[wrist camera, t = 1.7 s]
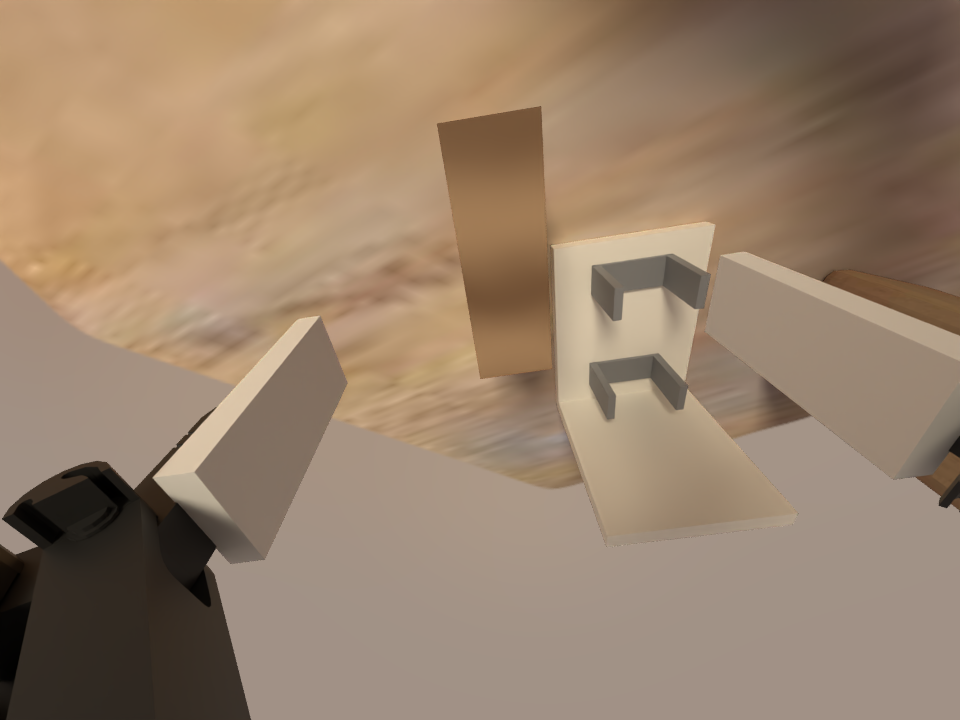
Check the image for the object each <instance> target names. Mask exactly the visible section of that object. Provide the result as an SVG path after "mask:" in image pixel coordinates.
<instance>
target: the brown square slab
mask: <svg viewBox="0 0 960 720" xmlns="http://www.w3.org/2000/svg"><path fill="white" fill-rule="evenodd" d="M437 127H438V133H439V138H440V144H441V150H442V156H443V162H444V168H445V174H446V180H447V185H448V191H449V197H450V203H451V209H452V215H453V221H454V227H455V232H456V238H457V244H458V250H459V256H460V262H461V268H462V273H463V279H464V285H465V291H466V297H467V303H468V309H469V315H470V320H471V326H472V332H473V338H474V344H475V350H476V356H477V361H478V367H479V373H480V379H483V378H491V377H498V376H505V375H512V374H519V373H526V372H534V371H541V370H548V369H552V353H551V329H550V305H549V281H548V257H547V233H546V210H545V186H544V162H543V138H542V114H541V106H540V107H534V108H528V109H522V110H516V111H510V112H504V113H498V114H492V115H486V116H480V117H474V118H468V119H462V120H456V121H450V122H444V123H438V124H437Z"/></svg>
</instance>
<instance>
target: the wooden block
mask: <svg viewBox="0 0 960 720" xmlns="http://www.w3.org/2000/svg"><path fill="white" fill-rule="evenodd" d="M823 282H824V283H826V284H829V285H831V286H834V287H837V288H839V289H842V290H844V291H847V292H849V293H852V294H854V295H857V296H860V297H862V298H865V299H867V300H870V301H872V302H875V303H877V304H880V305H883V306H885V307H888V308H890V309H893V310H895V311H898V312H900V313H903V314H906V315H908V316H911V317H913V318H916V319H918V320H921V321H923V322H926V323H929V324H931V325H934V326H936V327H939V328H941V329H944V330H946V331H949V332H951V333H954V334H957V335H959V336H960V297H957V296H954V295H951V294H948V293H945V292H942V291H938V290H935V289H932V288H929V287H925V286H920V285H916V284H911V283H907V282H902V281H898V280H893V279H889V278H885V277H880V276H876V275H871V274H867V273H862V272H858V271H853V270H839V271H833V272H832V273H831V274H830V275H828V276H827V277H826V278H825V280H824V281H823ZM959 474H960V458H959V457H957V456H956V455H954V454H953V453H951V452H949V453H948V455H947V456H946V457H945V459H944V460H943V461H942V463H941V464H940V465H939V467H938V468H937V469H936V471H935V472H934V473H933V475H926V476H918V477H916V478H917V479H918V480H920V481H921V482H922V483H924V484H925V485H927V486H928V487H929V488H930V489H932V490H933V491H935V492H936V493H937V494H939V495H940V496H942V495H943V494H944V492H945V491H946V490H947V489H948V487H949V486H950V485H951V484H952V482H953V481H954V480H955V479H956V477H957V476H958V475H959ZM951 504H952V505H953V506H955V507H956V508H957V509H959V510H960V498H957V499H954V500H953V502H952V503H951Z"/></svg>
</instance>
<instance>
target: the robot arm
mask: <svg viewBox="0 0 960 720" xmlns="http://www.w3.org/2000/svg"><path fill="white" fill-rule="evenodd" d="M705 332H706V333H707V334H708V335H710V336H711V337H712V338H714V339H715V340H716V341H717V342H719V343H720V344H721V345H722V346H724V347H725V348H726V349H728V350H729V351H730V352H731V353H733V354H734V355H735V356H736V357H738V358H739V359H740V360H742V361H743V362H744V363H745V364H747V365H748V366H749V367H750V368H752V369H753V370H754V371H756V372H757V373H758V374H759V375H761V376H762V377H763V378H764V379H766V380H767V381H768V382H770V383H771V384H772V385H773V386H775V387H776V388H777V389H778V390H780V391H781V392H782V393H784V394H785V395H786V396H787V397H789V398H790V399H791V400H792V401H794V402H795V403H796V404H798V405H799V406H800V407H801V408H803V409H804V410H805V411H807V412H808V413H809V414H810V415H812V416H813V417H814V418H816V419H817V420H818V421H819V422H821V423H822V424H823V425H824V426H826V427H827V428H828V429H830V430H831V431H832V432H833V433H835V434H836V435H837V436H838V437H840V438H841V439H842V440H844V441H845V442H846V443H847V444H849V445H850V446H851V447H852V448H854V449H855V450H856V451H857V452H859V453H860V454H861V455H863V456H864V457H865V458H867V459H868V460H869V461H870V462H871V463H873V464H874V465H875V466H877V467H878V468H879V469H880V470H882V471H883V472H884V473H885V474H887V475H888V476H889V477H891V478H892V479H893V480H894V479H903V478H910V477H918V476H926V475H933V473H934V472H935V471H936V469H937V468H938V467H939V465H940V464H941V463H942V461H943V460H944V459H945V457H946V456H947V455H948V453H949V452H951V453H953V454H954V455H956V456H957V457H959V458H960V336H959V335H957V334H954V333H951V332H949V331H946V330H944V329H941V328H939V327H936V326H934V325H931V324H929V323H926V322H923V321H921V320H918V319H916V318H913V317H911V316H908V315H906V314H903V313H900V312H898V311H895V310H893V309H890V308H888V307H885V306H883V305H880V304H877V303H875V302H872V301H870V300H867V299H865V298H862V297H860V296H857V295H854V294H852V293H849V292H847V291H844V290H842V289H839V288H837V287H834V286H831V285H829V284H826V283H824V282H821V281H819V280H816V279H814V278H811V277H808V276H806V275H803V274H801V273H798V272H796V271H793V270H791V269H788V268H786V267H783V266H780V265H778V264H775V263H773V262H770V261H768V260H765V259H763V258H760V257H757V256H755V255H752V254H750V253H747V252H738V253H732V254H725V255H720V259H719V264H718V269H717V274H716V279H715V284H714V289H713V293H712V298H711V303H710V308H709V313H708V318H707V323H706V327H705ZM346 385H347V380H346V378H345V375H344V373H343V370H342V368H341V365H340V363H339V360H338V358H337V356H336V353H335V351H334V348H333V346H332V343H331V341H330V338H329V336H328V333H327V331H326V329H325V326H324V324H323V321H322V319H321V316H315V317H308V318H302V319H297V321H296V322H295V323H294V324H293V325H292V326H291V327H290V328H289V329H288V330H287V331H286V333H285V334H284V335H283V336H282V337H281V338H280V339H279V340H278V341H277V342H276V344H275V345H274V346H273V347H272V348H271V349H270V350H269V351H268V352H267V353H266V354H265V356H264V357H263V358H262V359H261V360H260V361H259V362H258V363H257V364H256V365H255V366H254V368H253V369H252V370H251V371H250V372H249V373H248V374H247V375H246V376H245V377H244V378H243V380H242V381H241V382H240V383H239V384H238V385H237V386H236V387H235V388H234V389H233V390H232V392H231V393H230V394H229V395H228V396H227V397H226V398H225V399H224V400H223V401H222V402H221V404H220V405H219V406H217V407H216V408H214V409H213V410H212V411H210V412H209V413H207V414H206V415H205V416H203V417H202V418H201V419H200V420H199V421H198V422H197V423H196V424H195V425H194V427H192V428H191V430H190V431H189V432H188V435H185V436H184V437H183V438H182V439H181V440H180V441H179V442H178V443H177V447H176V448H173V449H172V450H171V451H170V452H169V453H168V454H167V455H166V456H165V457H164V458H163V459H162V461H161V462H160V463H159V464H158V465H157V466H156V467H155V468H154V469H153V470H152V471H151V472H150V474H148V475H147V476H146V478H145V479H144V480H143V481H142V482H141V483H140V484H139V485H138V486H137V487H136V488H135V489H134V490H133V489H132V488H131V487H130V486H129V485H128V484H127V483H126V482H125V481H124V479H122V478H121V476H120V475H119V474H118V473H117V472H116V471H115V470H114V469H113V468H112V467H111V466H110V465H109V464H108V463H107V462H101V461H95V462H90V463H85V464H81V465H78V466H76V467H73V468H71V469H68V470H66V471H63V472H61V473H59V474H57V475H55V476H53V477H51V478H50V479H48V480H46V481H44V482H42V483H41V484H39V485H38V486H36V487H35V488H33V489H32V490H30V491H29V492H27V493H26V494H25V495H23V496H22V497H21V498H20V499H19V500H18V501H17V502H15V503H14V504H13V505H12V506H11V507H10V508H9V509H8V511H7V512H6V514H5V515H4V517H3V518H2V520H4V521H5V522H7V523H8V524H9V525H10V526H12V527H13V528H15V529H16V530H17V531H18V532H20V533H21V534H23V535H24V536H25V537H27V538H28V539H29V540H31V541H32V542H33V543H35V544H36V545H37V546H38V547H36V548H33V549H30V550H28V551H25V552H22V553H19V554H16V555H15V554H13V553H12V552H10V551H9V550H8V549H6V548H5V547H3V546H2V545H0V720H251V718H250V715H249V710H248V706H247V702H246V698H245V694H244V690H243V686H242V682H241V679H240V674H239V670H238V666H237V662H236V659H235V654H234V650H233V647H232V643H231V639H230V635H229V631H228V627H227V623H226V619H225V615H224V611H223V607H222V603H221V599H220V595H219V591H218V587H217V583H216V579H215V575H214V573H213V572H212V571H211V569H210V568H209V567H208V566H207V565H206V564H207V562H208V561H209V559H210V557H211V556H212V554H213V552H214V550H215V549H217V550H218V551H219V552H220V553H221V554H222V555H223V556H224V557H225V559H226V560H227V561H228V562H229V563H230V564H234V563H242V562H249V561H258V560H265V558H266V556H267V554H268V551H269V549H270V547H271V545H272V543H273V541H274V539H275V537H276V534H277V532H278V530H279V528H280V526H281V524H282V522H283V520H284V518H285V515H286V513H287V511H288V509H289V507H290V505H291V503H292V500H293V498H294V496H295V494H296V492H297V490H298V488H299V485H300V483H301V481H302V479H303V477H304V475H305V473H306V471H307V469H308V466H309V464H310V462H311V460H312V458H313V456H314V454H315V451H316V449H317V447H318V445H319V443H320V441H321V439H322V436H323V434H324V432H325V430H326V428H327V426H328V424H329V421H330V420H331V417H332V415H333V413H334V411H335V409H336V407H337V405H338V402H339V400H340V398H341V396H342V394H343V392H344V390H345V388H346ZM957 498H960V474H959V475H958V476H957V477H956V479H955V480H954V481H953V482H952V484H951V485H950V486H949V487H948V489H947V490H946V491H945V492H944V494H943V495H942V496H941V498H940V500H939V506H941V507H945V508H947V507H948V506H949V505H950V504H951V503H952V502H953V500H954V499H957ZM959 512H960V510H959Z"/></svg>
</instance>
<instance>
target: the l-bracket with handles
mask: <svg viewBox="0 0 960 720" xmlns="http://www.w3.org/2000/svg"><path fill="white" fill-rule="evenodd" d="M714 229H715V224H712V223H709V222H699V223H693V224H686V225H680V226H673V227H667V228H660V229H653V230H647V231H640V232H634V233H627V234H621V235H614V236H608V237H601V238H594V239H588V240H581V241H575V242H568V243H562V244H555V245H550V249H551V276H552V303H553V330H554V357H555V384H556V405H557V408H558V411H559V414H560V416H561V419H562V422H563V425H564V428H565V431H566V434H567V436H568V439H569V442H570V445H571V448H572V451H573V453H574V456H575V459H576V462H577V465H578V468H579V471H580V473H581V476H582V479H583V482H584V485H585V488H586V490H587V493H588V496H589V499H590V502H591V505H592V507H593V510H594V513H595V516H596V519H597V522H598V525H599V527H600V530H601V533H602V536H603V539H604V542H605V545H606V547H612V546H621V545H629V544H637V543H645V542H654V541H662V540H671V539H678V538H687V537H695V536H704V535H712V534H720V533H729V532H737V531H746V530H754V529H762V528H770V527H779V526H787V525H793V523H794V521H795V519H796V517H797V515H798V512H797V511H796V510H795V509H794V508H793V507H792V506H791V504H790V503H789V502H788V501H787V500H786V499H785V498H784V497H783V496H782V494H781V493H780V492H779V491H778V490H777V489H776V488H775V487H774V485H773V484H772V483H771V482H770V481H769V480H768V479H767V478H766V476H765V475H764V474H763V473H762V472H761V471H760V470H759V469H758V467H757V466H756V465H755V464H754V463H753V462H752V461H751V460H750V459H749V457H748V456H747V455H746V454H745V453H744V452H743V451H742V450H741V449H740V447H739V446H738V445H737V444H736V443H735V442H734V441H733V440H732V438H731V437H730V436H729V435H728V434H727V433H726V432H725V431H724V429H723V428H722V427H721V426H720V425H719V424H718V423H717V422H716V421H715V419H714V418H713V417H712V416H711V415H710V414H709V413H708V412H707V410H706V409H705V408H704V407H703V406H702V405H701V404H700V403H699V402H698V400H697V399H696V398H695V397H694V396H693V395H692V394H691V393H690V391H689V390H688V385H687V384H686V383H685V379H686V373H687V368H688V363H689V358H690V353H691V348H692V343H693V337H694V332H695V327H696V322H697V317H698V312H699V309H702V308H704V305H705V300H706V295H707V290H708V285H709V280H710V275H711V274H709V273H707V272H706V271H707V265H708V260H709V255H710V250H711V245H712V240H713V235H714Z"/></svg>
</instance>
